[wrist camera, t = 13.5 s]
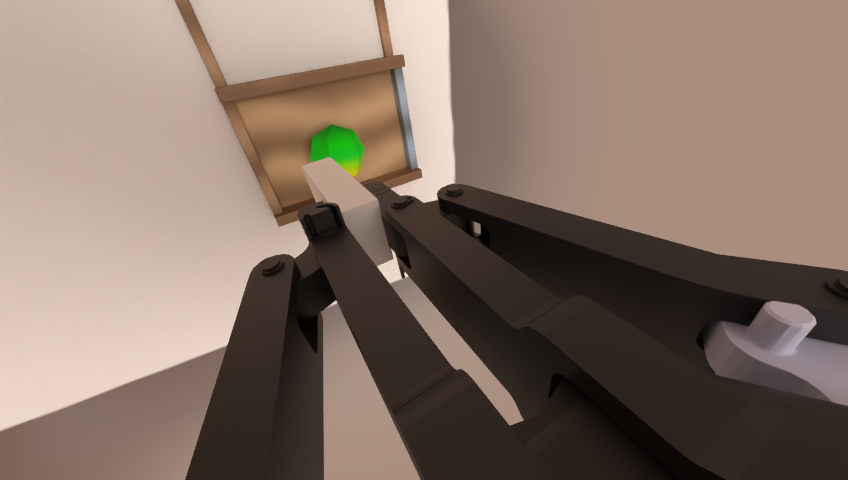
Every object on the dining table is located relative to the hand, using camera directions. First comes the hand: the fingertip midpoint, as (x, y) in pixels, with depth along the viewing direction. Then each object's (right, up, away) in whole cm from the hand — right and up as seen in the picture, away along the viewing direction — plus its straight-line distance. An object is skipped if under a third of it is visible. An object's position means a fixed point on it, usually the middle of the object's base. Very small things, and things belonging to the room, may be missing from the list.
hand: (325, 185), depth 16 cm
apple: (-6, +8, +23) cm, 25 cm away
